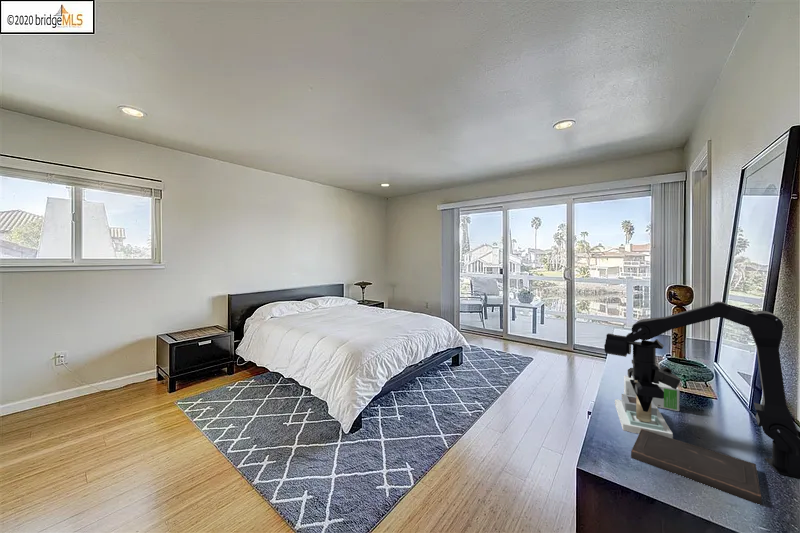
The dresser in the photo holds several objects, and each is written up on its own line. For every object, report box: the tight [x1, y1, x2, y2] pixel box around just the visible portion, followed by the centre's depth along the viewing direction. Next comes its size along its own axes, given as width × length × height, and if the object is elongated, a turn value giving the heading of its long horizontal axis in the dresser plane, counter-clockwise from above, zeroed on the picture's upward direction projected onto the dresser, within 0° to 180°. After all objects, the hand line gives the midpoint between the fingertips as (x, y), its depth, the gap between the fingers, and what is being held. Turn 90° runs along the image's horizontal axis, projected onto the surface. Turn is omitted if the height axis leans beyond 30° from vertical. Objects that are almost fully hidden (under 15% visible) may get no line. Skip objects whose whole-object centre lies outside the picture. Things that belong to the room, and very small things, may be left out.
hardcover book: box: [630, 429, 763, 506], centre depth 81 cm, size 16×23×2 cm
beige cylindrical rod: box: [636, 395, 651, 422], centre depth 98 cm, size 4×4×10 cm
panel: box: [614, 393, 674, 439], centre depth 103 cm, size 20×12×5 cm, turn 151°
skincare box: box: [623, 375, 680, 412], centre depth 115 cm, size 8×7×16 cm
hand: (644, 408), depth 98 cm, fingers closed on beige cylindrical rod, 4 cm apart
